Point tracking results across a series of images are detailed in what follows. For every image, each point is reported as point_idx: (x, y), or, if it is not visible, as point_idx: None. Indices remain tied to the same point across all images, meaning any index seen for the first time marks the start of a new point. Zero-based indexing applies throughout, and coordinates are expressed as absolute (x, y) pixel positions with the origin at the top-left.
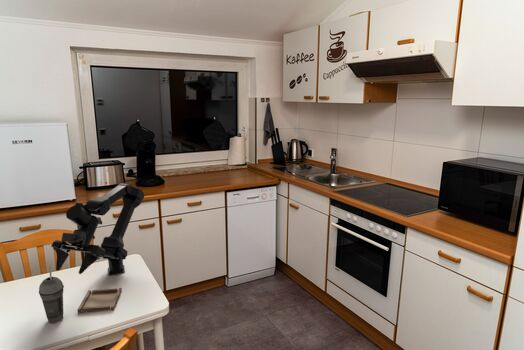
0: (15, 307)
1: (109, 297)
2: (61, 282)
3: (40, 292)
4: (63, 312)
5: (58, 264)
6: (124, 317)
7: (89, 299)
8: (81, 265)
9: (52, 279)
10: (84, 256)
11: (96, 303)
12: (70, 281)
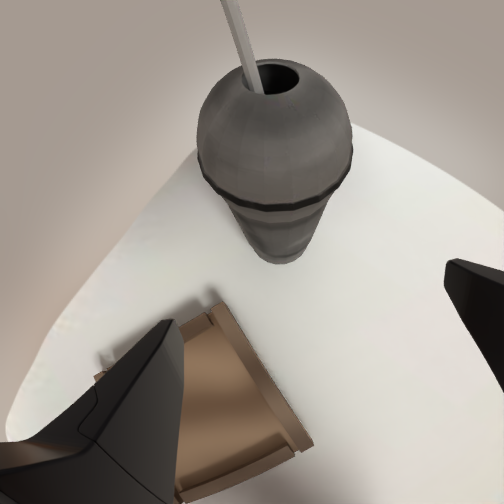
0: (478, 221)
1: (179, 446)
2: (214, 158)
3: (280, 84)
4: (254, 249)
5: (482, 279)
6: (53, 351)
7: (257, 401)
8: (138, 368)
9: (238, 80)
10: (64, 456)
11: (197, 388)
12: (471, 448)
